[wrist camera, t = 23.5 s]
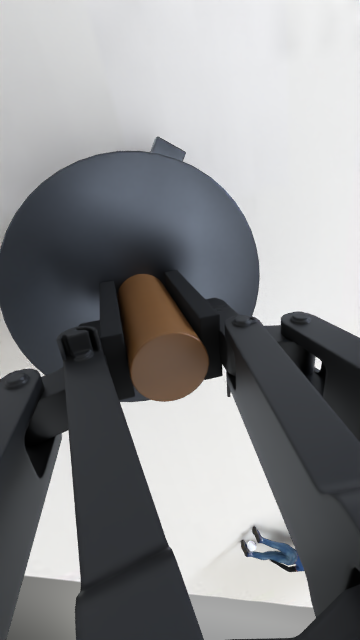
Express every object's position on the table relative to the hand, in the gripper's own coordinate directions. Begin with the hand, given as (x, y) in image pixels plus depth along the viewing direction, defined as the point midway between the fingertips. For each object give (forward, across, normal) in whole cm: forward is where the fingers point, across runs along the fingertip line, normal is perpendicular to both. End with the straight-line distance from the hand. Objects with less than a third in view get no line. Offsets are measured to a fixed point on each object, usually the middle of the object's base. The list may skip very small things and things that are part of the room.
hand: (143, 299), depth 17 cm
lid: (+1, 0, 0) cm, 1 cm away
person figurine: (+15, +20, -60) cm, 65 cm away
